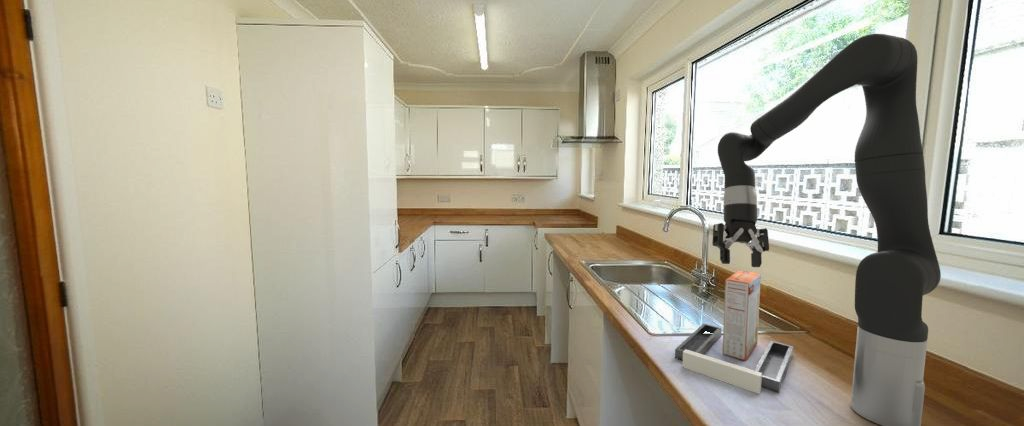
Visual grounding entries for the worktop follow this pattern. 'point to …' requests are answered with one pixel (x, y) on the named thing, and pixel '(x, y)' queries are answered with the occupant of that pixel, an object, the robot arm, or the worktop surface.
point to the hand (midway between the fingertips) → (740, 265)
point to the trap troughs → (769, 364)
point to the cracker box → (741, 314)
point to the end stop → (722, 371)
